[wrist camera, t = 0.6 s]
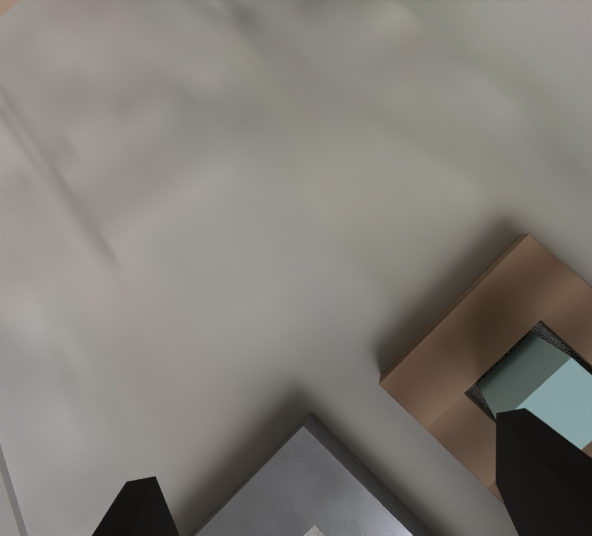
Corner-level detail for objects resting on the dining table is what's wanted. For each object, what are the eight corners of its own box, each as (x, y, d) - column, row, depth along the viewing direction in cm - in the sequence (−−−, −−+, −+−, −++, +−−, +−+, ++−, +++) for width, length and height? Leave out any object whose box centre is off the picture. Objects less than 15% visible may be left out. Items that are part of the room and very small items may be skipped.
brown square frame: (688, 379, 27) (711, 389, 25) (528, 517, 29) (537, 536, 27) (520, 235, 29) (529, 234, 27) (380, 375, 31) (379, 384, 29)
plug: (574, 370, 28) (628, 408, 22) (517, 422, 29) (552, 474, 22) (531, 331, 29) (571, 357, 22) (476, 384, 30) (498, 424, 23)
